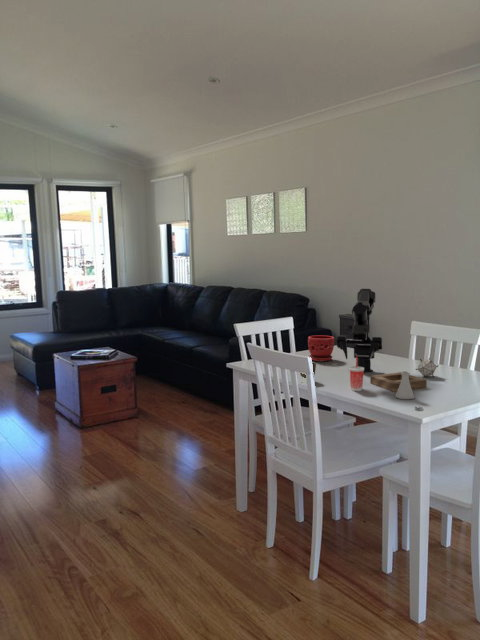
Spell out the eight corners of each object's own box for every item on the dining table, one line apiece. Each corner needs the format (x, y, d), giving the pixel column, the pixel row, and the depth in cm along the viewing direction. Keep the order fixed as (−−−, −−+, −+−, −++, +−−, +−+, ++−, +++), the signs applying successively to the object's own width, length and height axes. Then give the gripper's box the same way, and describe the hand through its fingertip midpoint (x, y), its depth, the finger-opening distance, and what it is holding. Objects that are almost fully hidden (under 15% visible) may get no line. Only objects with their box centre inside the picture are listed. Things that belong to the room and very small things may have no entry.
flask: (392, 395, 227) (393, 370, 225) (410, 394, 227) (411, 369, 226) (399, 400, 220) (399, 374, 218) (417, 399, 220) (418, 374, 219)
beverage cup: (353, 386, 240) (353, 353, 238) (366, 389, 237) (367, 355, 235) (346, 389, 236) (346, 356, 234) (359, 392, 232) (360, 358, 230)
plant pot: (335, 362, 288) (336, 338, 286) (309, 362, 288) (309, 338, 287) (332, 356, 301) (332, 334, 299) (306, 357, 301) (306, 334, 300)
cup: (305, 384, 246) (305, 365, 245) (295, 380, 253) (295, 362, 252) (319, 381, 250) (319, 363, 248) (309, 378, 256) (309, 360, 255)
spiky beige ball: (430, 385, 255) (440, 370, 248) (411, 378, 256) (420, 363, 249) (432, 372, 261) (441, 357, 255) (414, 364, 262) (423, 350, 256)
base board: (370, 383, 246) (370, 375, 245) (401, 379, 252) (401, 371, 251) (394, 392, 231) (394, 384, 231) (426, 387, 237) (426, 380, 237)
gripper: (337, 316, 245) (333, 347, 236) (382, 317, 239) (380, 348, 230) (339, 332, 253) (335, 362, 244) (383, 333, 248) (381, 364, 239)
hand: (357, 359), depth 239 cm, fingers open, 9 cm apart
